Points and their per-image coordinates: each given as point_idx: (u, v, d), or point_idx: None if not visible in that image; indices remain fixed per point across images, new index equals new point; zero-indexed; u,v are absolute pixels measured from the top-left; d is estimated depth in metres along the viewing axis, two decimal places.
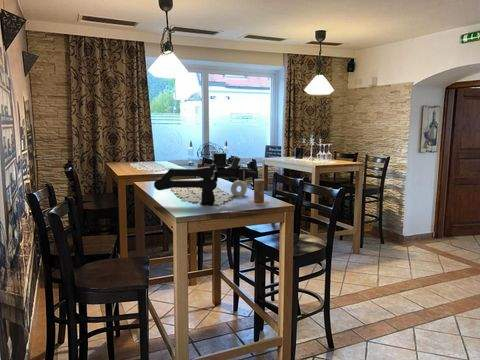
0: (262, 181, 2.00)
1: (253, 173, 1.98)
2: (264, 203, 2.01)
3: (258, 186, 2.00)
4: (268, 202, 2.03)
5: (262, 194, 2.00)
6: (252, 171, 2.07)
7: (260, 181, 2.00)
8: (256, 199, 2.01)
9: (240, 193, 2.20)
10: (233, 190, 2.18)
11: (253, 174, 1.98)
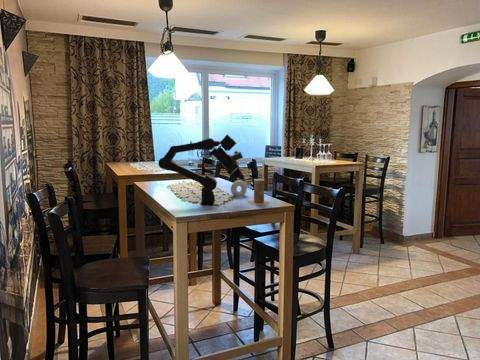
0: (262, 181, 2.00)
1: (241, 176, 1.96)
2: (264, 203, 2.01)
3: (258, 186, 2.00)
4: (268, 202, 2.03)
5: (262, 194, 2.00)
6: (242, 175, 2.06)
7: (260, 181, 2.00)
8: (256, 199, 2.01)
9: (240, 193, 2.20)
10: (233, 190, 2.18)
11: (241, 177, 1.96)
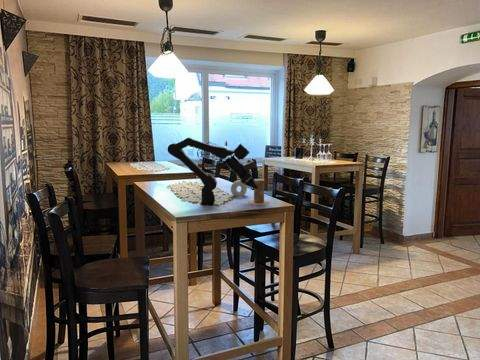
0: (262, 181, 2.00)
1: (255, 186, 1.97)
2: (264, 203, 2.01)
3: (258, 186, 2.00)
4: (268, 202, 2.03)
5: (262, 194, 2.00)
6: None
7: (260, 181, 2.00)
8: (256, 199, 2.01)
9: (240, 193, 2.20)
10: (233, 190, 2.18)
11: (254, 186, 1.97)
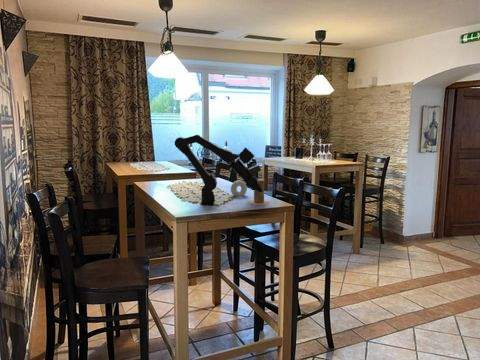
0: (262, 181, 2.00)
1: (259, 189, 1.99)
2: (264, 203, 2.01)
3: None
4: (268, 202, 2.03)
5: (262, 194, 2.00)
6: None
7: (260, 181, 2.00)
8: (256, 199, 2.01)
9: (240, 193, 2.20)
10: (233, 190, 2.18)
11: (259, 189, 1.99)
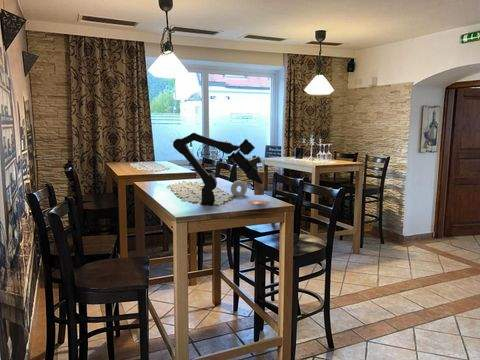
0: (262, 173, 1.99)
1: (260, 180, 1.98)
2: (264, 203, 2.01)
3: None
4: (268, 202, 2.03)
5: (262, 186, 2.00)
6: None
7: (260, 173, 1.99)
8: (256, 190, 2.00)
9: (240, 193, 2.20)
10: (233, 190, 2.18)
11: (259, 181, 1.99)
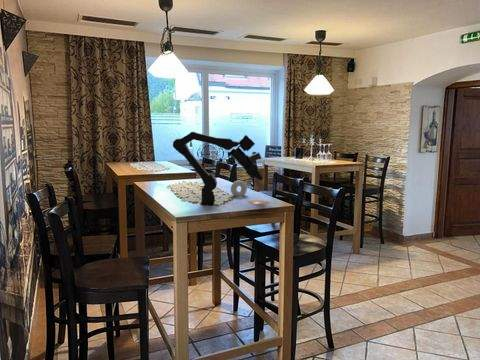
0: (262, 169, 1.99)
1: (260, 177, 1.98)
2: (264, 203, 2.01)
3: None
4: (268, 202, 2.03)
5: (262, 182, 2.00)
6: None
7: (260, 169, 1.99)
8: (256, 187, 2.00)
9: (240, 193, 2.20)
10: (233, 190, 2.18)
11: (259, 177, 1.98)
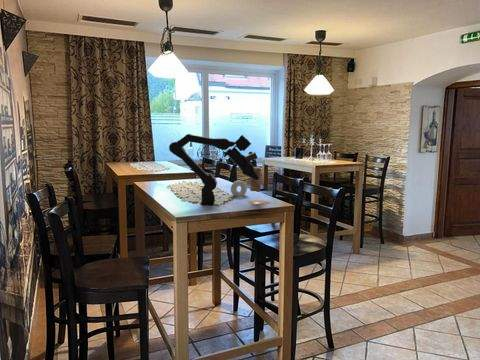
0: (258, 169, 1.99)
1: (256, 176, 1.98)
2: (264, 203, 2.01)
3: None
4: (268, 202, 2.03)
5: (258, 182, 1.99)
6: None
7: (256, 169, 1.98)
8: (252, 187, 2.00)
9: (240, 193, 2.20)
10: (233, 190, 2.18)
11: (255, 177, 1.98)
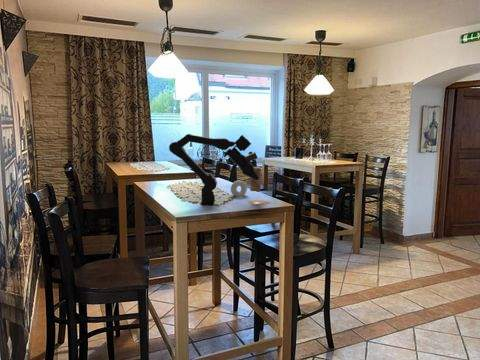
0: (258, 169, 1.99)
1: (256, 176, 1.98)
2: (264, 203, 2.01)
3: None
4: (268, 202, 2.03)
5: (258, 182, 1.99)
6: None
7: (256, 169, 1.99)
8: (252, 187, 2.00)
9: (240, 193, 2.20)
10: (233, 190, 2.18)
11: (255, 177, 1.98)
